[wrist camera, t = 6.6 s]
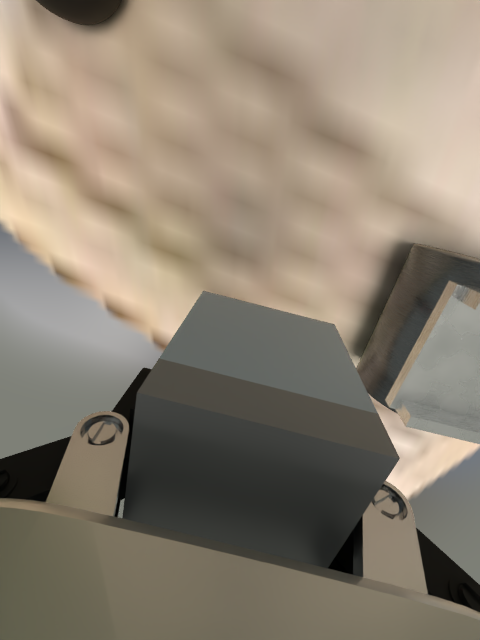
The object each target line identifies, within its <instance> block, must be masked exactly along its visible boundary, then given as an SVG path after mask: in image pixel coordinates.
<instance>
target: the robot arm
mask: <svg viewBox="0 0 480 640" xmlns="http://www.w3.org/2000/svg"><path fill="white" fill-rule="evenodd" d="M151 370H152V369H148V368H143V369H142V370H141V371H140V373H139V374H138V375H137V377H136V378H135V380H134V381H133V382H132V384H131V385H130V387H129V388H128V389H127V391H126V392H125V394H124V395H123V397H122V398H121V399H120V401H119V402H118V404H117V405H116V406H115V408H114V409H113V411H112V412H110V411H102V412H96V413H93V414H90V415H88V416H86V417H84V419H82V420H81V421H80V422H78V424H77V426H76V427H75V429H74V432H73V434H72V436H70V437H67V438H64V439H61V440H58V441H55V442H52V443H49V444H45V445H43V446H39V447H36V448H33V449H30V450H27V451H24V452H21V453H18V454H15V455H12V456H9V457H5V458H2V459H0V640H480V585H479V584H478V583H477V582H476V581H475V580H473V579H472V578H471V577H470V576H469V575H468V574H467V573H466V572H465V571H464V570H463V569H461V568H460V567H459V566H458V565H457V564H456V563H455V562H454V561H453V560H451V559H450V558H449V557H448V556H447V555H446V554H445V553H444V552H443V551H441V550H440V549H439V548H438V547H437V546H436V545H435V544H433V542H431V541H430V540H429V539H428V538H427V537H426V536H425V535H424V534H423V533H422V532H420V531H419V530H418V529H417V528H416V526H415V520H414V515H413V511H412V508H411V505H410V504H409V502H408V500H407V499H406V497H405V496H404V495H403V494H402V493H401V492H400V491H399V490H398V489H397V488H396V487H395V486H393V485H392V484H390V483H388V482H387V481H385V482H384V483H383V485H382V486H381V488H380V489H379V491H378V492H377V494H376V495H375V497H374V498H373V500H372V502H371V503H370V505H369V506H368V508H367V509H366V511H365V512H364V514H363V515H362V517H361V518H360V520H359V521H358V523H357V524H356V526H355V527H354V529H353V530H352V532H351V534H350V535H349V537H348V538H347V540H346V541H345V543H344V544H343V546H342V547H341V549H340V550H339V552H338V553H337V555H336V556H335V558H334V559H333V561H332V562H331V564H330V566H329V567H328V568H324V567H320V566H316V565H312V564H308V563H304V562H300V561H296V560H292V559H288V558H284V557H280V556H276V555H271V554H267V553H263V552H259V551H255V550H251V549H247V548H243V547H239V546H235V545H231V544H227V543H223V542H218V541H214V540H210V539H206V538H202V537H198V536H194V535H190V534H185V533H181V532H177V531H173V530H169V529H164V528H160V527H156V526H152V525H148V524H144V523H139V522H135V521H131V520H127V519H123V518H118V517H119V512H120V506H121V500H122V499H124V498H125V493H126V484H127V475H128V466H129V458H130V449H131V440H132V431H133V423H134V414H135V405H136V396H137V392H138V390H139V389H140V387H141V385H142V384H143V382H144V381H145V379H146V378H147V376H148V375H149V373H150V372H151Z"/></svg>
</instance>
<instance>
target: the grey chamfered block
mask: <svg viewBox="0 0 480 640" xmlns="http://www.w3.org/2000/svg"><path fill="white" fill-rule="evenodd" d="M399 459H400V458H399V456H398V454H397V452H396V450H395V448H394V446H393V444H392V442H391V440H390V438H389V435H388V433H387V431H386V429H385V427H384V425H383V423H382V421H381V419H380V417H379V415H378V413H377V411H376V409H375V407H374V405H373V403H372V401H371V399H370V397H369V394H368V392H367V390H366V388H365V386H364V384H363V382H362V380H361V378H360V376H359V374H358V372H357V370H356V368H355V366H354V364H353V362H352V360H351V358H350V356H349V354H348V351H347V349H346V347H345V345H344V343H343V341H342V339H341V337H340V335H339V333H338V331H337V329H336V327H335V325H334V324H330V323H327V322H323V321H319V320H315V319H311V318H307V317H303V316H299V315H295V314H292V313H288V312H284V311H280V310H276V309H272V308H268V307H264V306H260V305H257V304H253V303H249V302H245V301H241V300H237V299H233V298H229V297H226V296H222V295H218V294H214V293H210V292H206V291H203V292H202V294H201V295H200V297H199V298H198V300H197V301H196V303H195V304H194V306H193V307H192V309H191V311H190V312H189V314H188V315H187V317H186V318H185V320H184V321H183V323H182V324H181V326H180V327H179V329H178V330H177V332H176V333H175V335H174V337H173V338H172V340H171V341H170V343H169V344H168V346H167V347H166V349H165V350H164V352H163V353H162V355H161V356H160V358H159V359H158V361H157V363H156V364H155V366H154V367H153V369H152V370H151V372H150V373H149V375H148V376H147V378H146V379H145V381H144V382H143V384H142V385H141V387H140V389H139V390H138V392H137V396H136V405H135V414H134V423H133V431H132V440H131V449H130V458H129V466H128V475H127V484H126V493H125V501H124V510H123V519H127V520H131V521H135V522H139V523H144V524H148V525H152V526H156V527H160V528H164V529H169V530H173V531H177V532H181V533H185V534H190V535H194V536H198V537H202V538H206V539H210V540H214V541H218V542H223V543H227V544H231V545H235V546H239V547H243V548H247V549H251V550H255V551H259V552H263V553H267V554H271V555H276V556H280V557H284V558H288V559H292V560H296V561H300V562H304V563H308V564H312V565H316V566H320V567H324V568H328V567H329V566H330V564H331V562H332V561H333V559H334V558H335V556H336V555H337V553H338V552H339V550H340V549H341V547H342V546H343V544H344V543H345V541H346V540H347V538H348V537H349V535H350V534H351V532H352V530H353V529H354V527H355V526H356V524H357V523H358V521H359V520H360V518H361V517H362V515H363V514H364V512H365V511H366V509H367V508H368V506H369V505H370V503H371V502H372V500H373V498H374V497H375V495H376V494H377V492H378V491H379V489H380V488H381V486H382V485H383V483H384V482H385V480H386V479H387V477H388V476H389V474H390V473H391V471H392V470H393V468H394V467H395V465H396V463H397V462H398V460H399Z"/></svg>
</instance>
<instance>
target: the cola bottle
mask: <svg viewBox="0 0 480 640" xmlns="http://www.w3.org/2000/svg"><path fill="white" fill-rule="evenodd" d="M36 1H37V2H39V3H40V4H41V5H42V6H43V7H45V8H46V9H48V10H49V11H51V12H52V13H54V14H55V15H57V16H59V17H61V18H63V19H66V20H68V21H71V22H74V23H78V24H85V25H90V24H96V23H100V22H102V21H104V20H106V19H107V18H109V17H110V16H111V15H112V14H113V13H114V12H115V10H116V9H117V8H118V6H119V4H120V2H121V0H36Z"/></svg>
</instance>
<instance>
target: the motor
mask: <svg viewBox="0 0 480 640" xmlns="http://www.w3.org/2000/svg"><path fill="white" fill-rule="evenodd" d="M356 370H357V372H358V374H359V376H360V378H361V380H362V382H363V384H364V386H365V388H366V390H367V392H368V393H369V394H370V395H371V396H372V397H373V398H374V399H376V400H377V401H378V402H380V403H381V404H382V405H384V406H386V407H387V408H389V409H390V410H392V411H394V412H396V413H398V415H399V416H400V418H401V420H402V421H403V423H404V425H405V426H406V427H410V428H415V429H419V430H423V431H427V432H431V433H435V434H440V435H444V436H448V437H452V438H456V439H460V440H464V441H469V442H473V443H477V444H480V259H478V258H474V257H470V256H467V255H463V254H459V253H455V252H451V251H447V250H443V249H439V248H435V247H430V246H426V245H421V244H413V247H412V249H411V251H410V253H409V255H408V257H407V260H406V262H405V264H404V266H403V268H402V270H401V273H400V275H399V277H398V279H397V281H396V283H395V286H394V288H393V290H392V292H391V294H390V296H389V299H388V301H387V303H386V305H385V307H384V309H383V312H382V314H381V316H380V318H379V320H378V322H377V325H376V327H375V329H374V331H373V333H372V336H371V338H370V340H369V342H368V344H367V346H366V349H365V351H364V353H363V355H362V357H361V359H360V362H359V364H358V366H357V368H356Z"/></svg>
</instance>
